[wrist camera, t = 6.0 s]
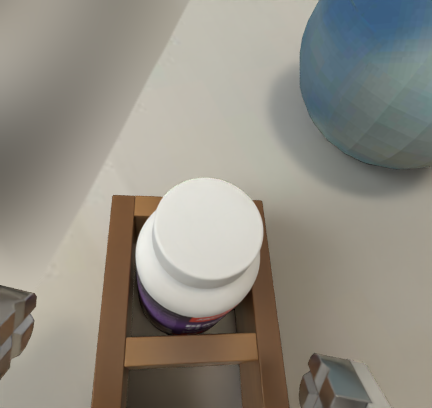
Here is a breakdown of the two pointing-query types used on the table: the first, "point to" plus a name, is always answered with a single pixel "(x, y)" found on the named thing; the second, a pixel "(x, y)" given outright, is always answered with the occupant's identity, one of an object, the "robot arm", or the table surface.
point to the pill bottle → (198, 255)
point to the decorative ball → (371, 79)
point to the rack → (182, 344)
